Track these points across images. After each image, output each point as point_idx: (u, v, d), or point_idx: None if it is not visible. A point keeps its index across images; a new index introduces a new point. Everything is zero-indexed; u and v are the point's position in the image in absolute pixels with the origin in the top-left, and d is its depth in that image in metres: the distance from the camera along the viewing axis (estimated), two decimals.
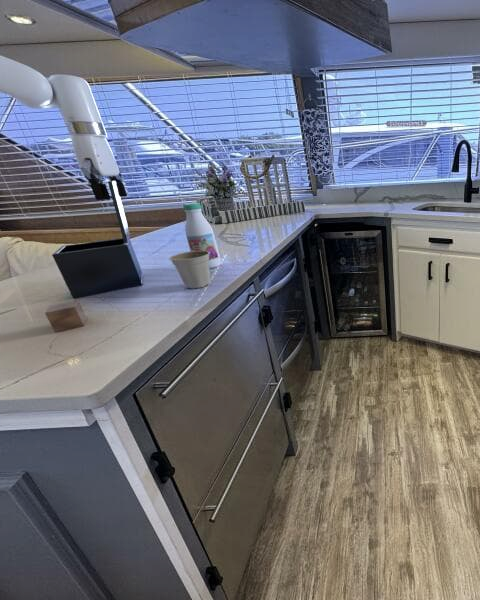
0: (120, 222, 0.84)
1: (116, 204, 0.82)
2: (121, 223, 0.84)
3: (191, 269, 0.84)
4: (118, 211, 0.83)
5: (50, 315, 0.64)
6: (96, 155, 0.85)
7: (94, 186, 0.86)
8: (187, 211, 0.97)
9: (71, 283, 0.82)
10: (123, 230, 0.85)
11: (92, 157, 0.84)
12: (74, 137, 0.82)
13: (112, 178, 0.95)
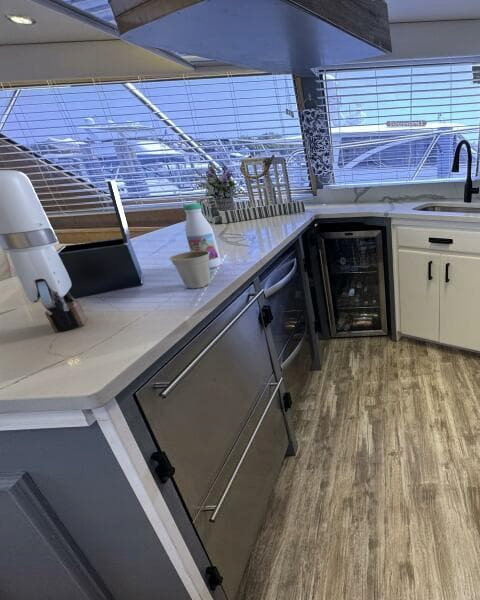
0: (120, 222, 0.84)
1: (115, 204, 0.82)
2: (121, 223, 0.84)
3: (191, 269, 0.84)
4: (118, 211, 0.83)
5: None
6: (52, 272, 0.61)
7: (57, 316, 0.64)
8: (187, 211, 0.97)
9: (71, 283, 0.82)
10: (123, 230, 0.85)
11: (47, 277, 0.61)
12: (16, 254, 0.58)
13: None
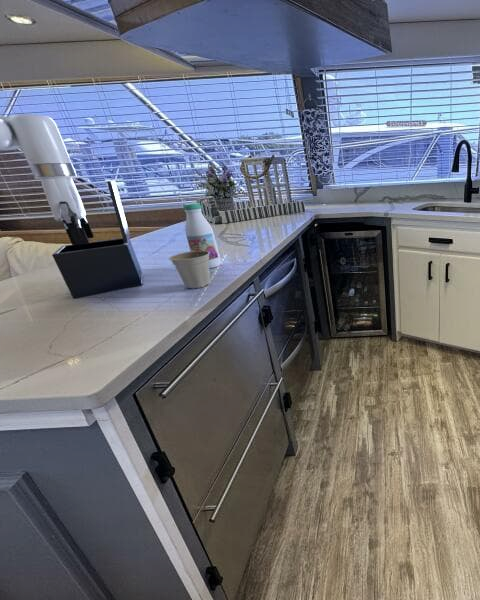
0: (120, 222, 0.84)
1: (115, 204, 0.82)
2: (121, 223, 0.84)
3: (191, 269, 0.84)
4: (118, 211, 0.83)
5: None
6: (73, 197, 0.79)
7: (72, 231, 0.80)
8: (187, 211, 0.97)
9: (71, 283, 0.82)
10: (123, 230, 0.85)
11: (69, 200, 0.78)
12: (46, 180, 0.75)
13: None
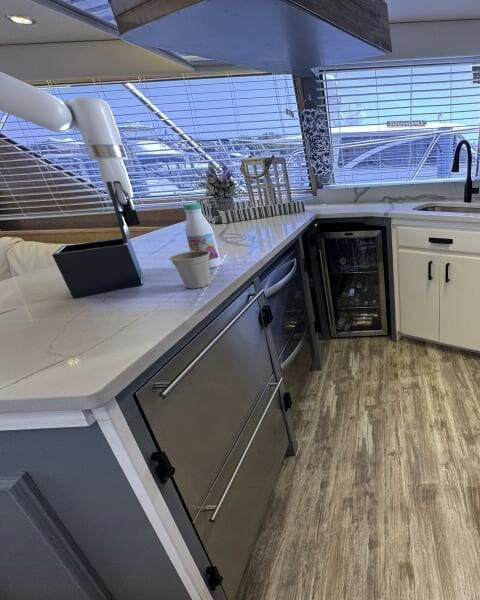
0: (120, 222, 0.84)
1: (115, 204, 0.82)
2: (121, 223, 0.84)
3: (191, 269, 0.84)
4: (117, 211, 0.83)
5: None
6: (125, 178, 0.83)
7: (126, 212, 0.88)
8: (187, 211, 0.97)
9: (71, 283, 0.82)
10: (123, 230, 0.85)
11: (122, 180, 0.83)
12: (102, 160, 0.80)
13: None
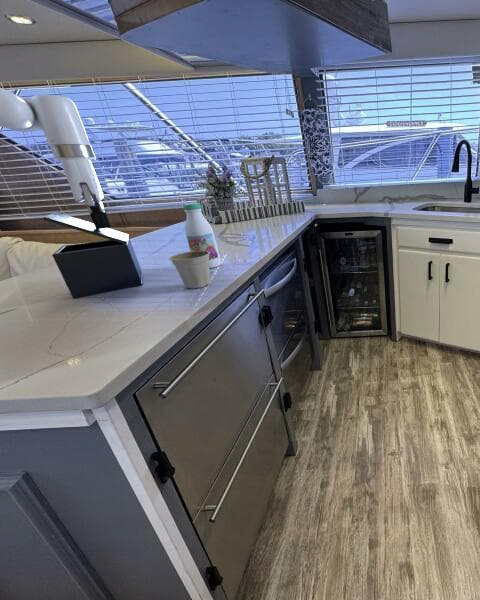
0: (99, 235, 0.82)
1: (75, 227, 0.79)
2: (101, 235, 0.83)
3: (191, 269, 0.84)
4: (85, 230, 0.80)
5: None
6: (92, 179, 0.80)
7: (95, 215, 0.84)
8: (187, 211, 0.97)
9: (71, 283, 0.82)
10: (110, 237, 0.84)
11: (88, 181, 0.79)
12: (67, 161, 0.76)
13: None
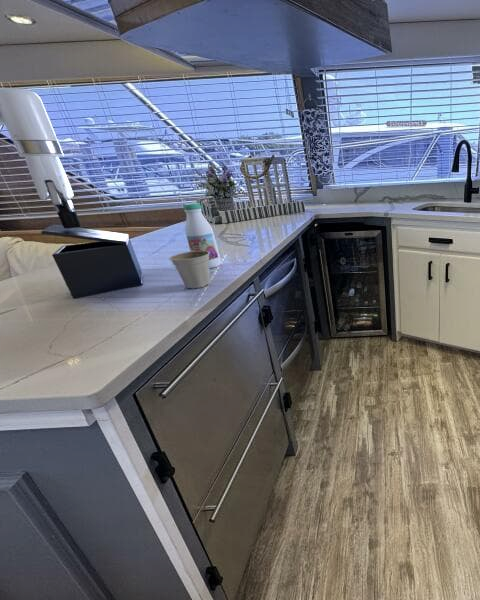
0: (98, 239, 0.82)
1: (73, 236, 0.80)
2: (100, 239, 0.83)
3: (191, 269, 0.84)
4: (83, 237, 0.81)
5: None
6: (59, 176, 0.77)
7: (63, 214, 0.81)
8: (187, 211, 0.97)
9: (71, 283, 0.82)
10: (109, 240, 0.84)
11: (54, 179, 0.76)
12: (30, 157, 0.73)
13: None
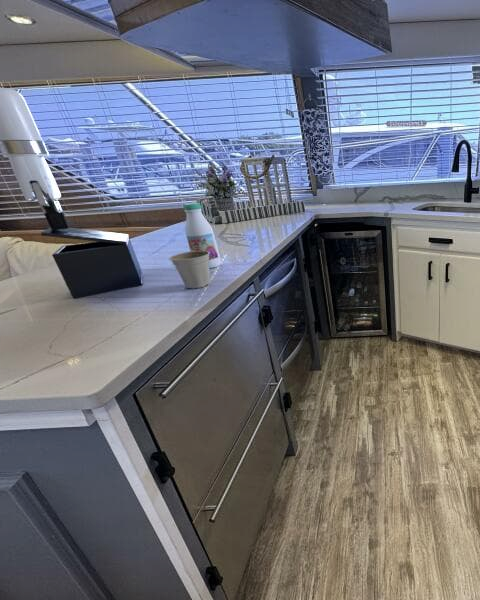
0: (98, 240, 0.83)
1: (73, 237, 0.80)
2: (100, 239, 0.83)
3: (191, 269, 0.84)
4: (83, 237, 0.81)
5: None
6: (44, 177, 0.75)
7: (50, 215, 0.80)
8: (187, 211, 0.97)
9: (71, 283, 0.82)
10: (109, 240, 0.84)
11: (40, 179, 0.75)
12: (14, 158, 0.72)
13: None
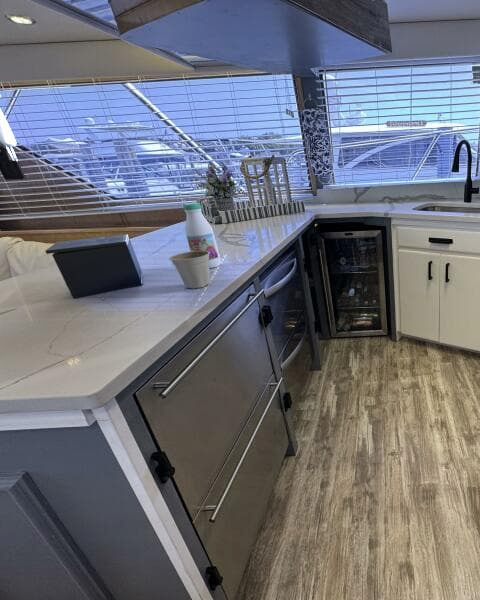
0: (100, 246, 0.83)
1: (76, 248, 0.81)
2: (101, 245, 0.83)
3: (191, 269, 0.84)
4: (85, 247, 0.81)
5: None
6: None
7: (3, 163, 0.73)
8: (187, 211, 0.97)
9: (71, 283, 0.82)
10: (110, 244, 0.84)
11: None
12: None
13: None
